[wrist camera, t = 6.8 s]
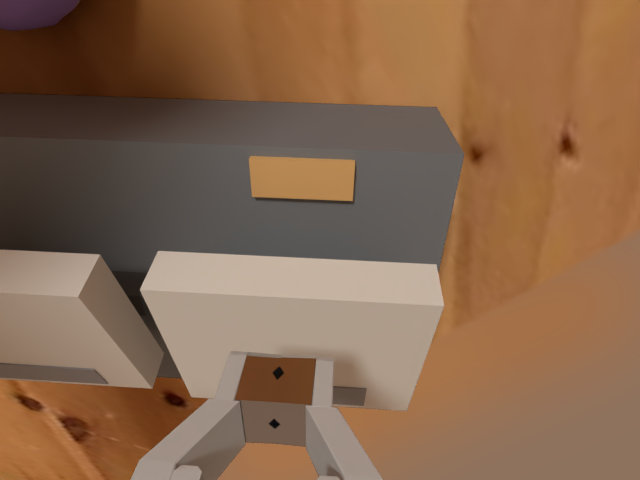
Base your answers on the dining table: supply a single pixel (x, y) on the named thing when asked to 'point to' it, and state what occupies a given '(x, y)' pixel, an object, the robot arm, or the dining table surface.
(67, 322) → the switch
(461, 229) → the dining table surface
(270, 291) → the switch
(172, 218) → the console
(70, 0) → the donut
